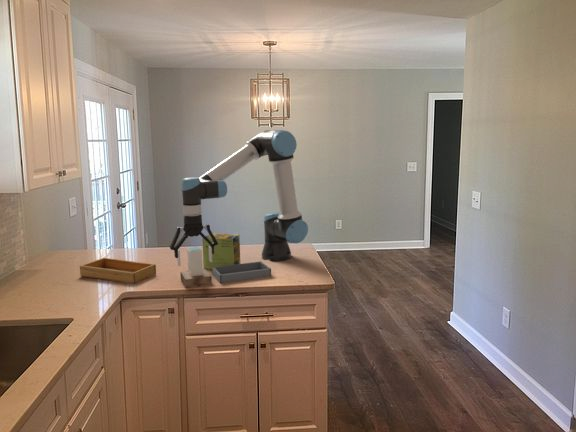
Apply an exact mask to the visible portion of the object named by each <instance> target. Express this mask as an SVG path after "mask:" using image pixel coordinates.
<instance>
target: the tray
mask: <svg viewBox="0 0 576 432" xmlns="http://www.w3.org/2000/svg"><path fill="white" fill-rule="evenodd" d="M79 273H80V274H79V275H80V277H85V278H92V279H97V280H99V279H100V280H105V281H111V282H112V281H113V282H118V283H125V284H131V285H135V284H138V283H139V282H142V281H144V280H147V279H148V278H151V277H154V276H156V275H157V266H156V264H155V263H148V262H147V263H146V262H139V261H133V260H131V261H130V260H123V259H117V258H109V257H108V258H107V257H102V258H99V259H96V260H93V261H89V262H86V263H85V264H82V265H79Z"/></svg>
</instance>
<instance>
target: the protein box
mask: <svg viewBox="0 0 576 432" xmlns="http://www.w3.org/2000/svg"><path fill="white" fill-rule="evenodd" d="M212 234H213V235H214V237H215V239H216V240H217V242H218V245H215V246H214V254H212V262H210V261H209V247H208V246H210V244H209V243H208V242H207V241H206V240H205V239H204V238H203V237H201V238H202V239H201V241H202V264H203V269H206V270H207V269H208V270H209V269H210V270H212V267H219V266H227V265H235V264H242V263H241V246H240V245H241V243H240V242H241V241H240V234H239V233H212ZM205 236H206V237H207V238H208V239H209V240H210V241H211V242H212V243H213V240H212V239H211V237H210V235H209V234H207V235H205Z"/></svg>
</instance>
